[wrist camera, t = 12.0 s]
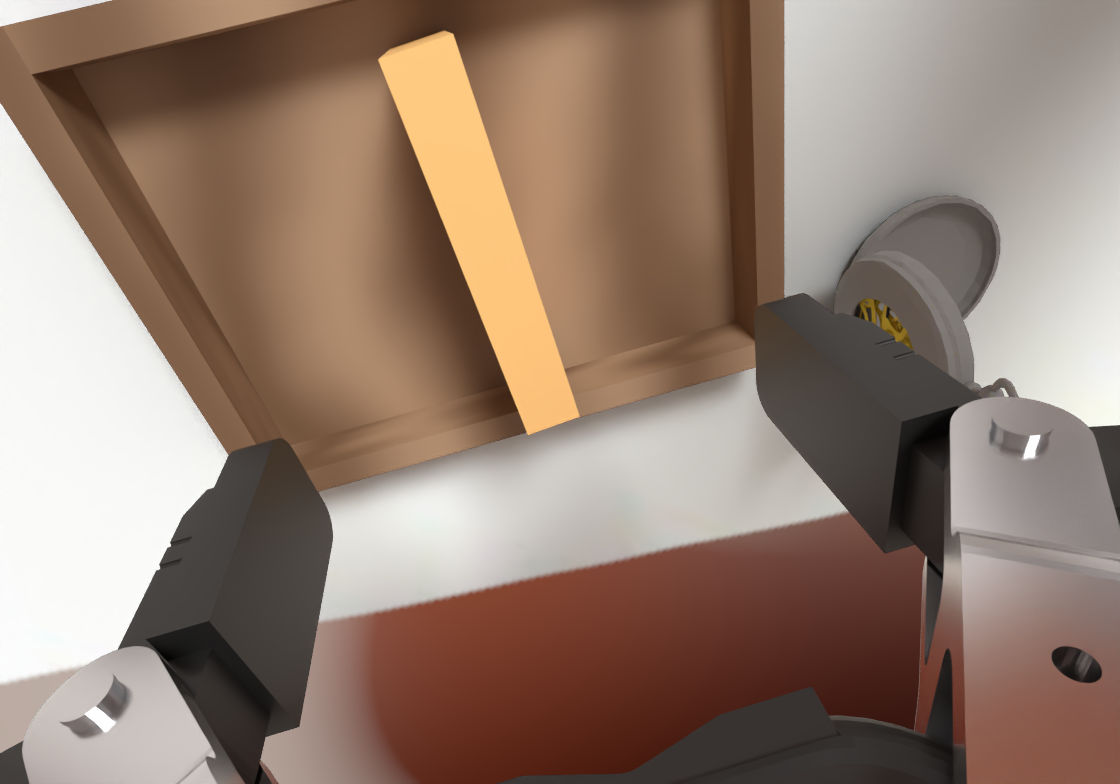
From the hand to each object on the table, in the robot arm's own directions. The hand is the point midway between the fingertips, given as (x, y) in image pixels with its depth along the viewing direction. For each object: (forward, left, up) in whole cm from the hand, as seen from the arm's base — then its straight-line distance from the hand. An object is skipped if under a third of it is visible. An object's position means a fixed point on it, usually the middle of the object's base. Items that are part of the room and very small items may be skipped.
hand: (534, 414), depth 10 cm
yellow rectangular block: (0, -5, -9) cm, 10 cm away
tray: (0, 0, -13) cm, 13 cm away
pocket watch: (-16, +7, -13) cm, 22 cm away
